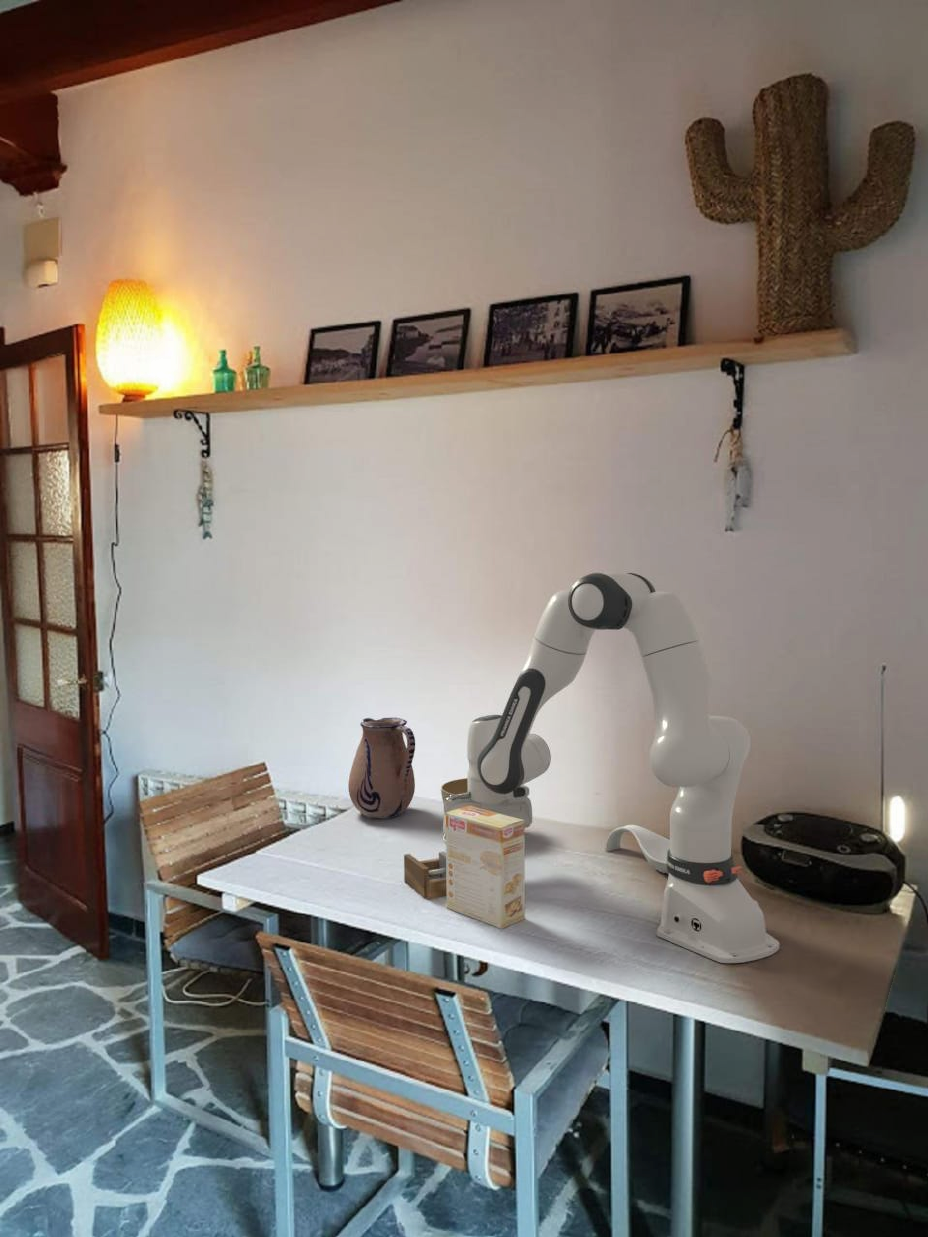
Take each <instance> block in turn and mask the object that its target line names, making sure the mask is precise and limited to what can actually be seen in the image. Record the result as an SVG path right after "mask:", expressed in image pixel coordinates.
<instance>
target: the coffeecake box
mask: <svg viewBox="0 0 928 1237" xmlns="http://www.w3.org/2000/svg"><path fill="white" fill-rule="evenodd" d="M524 822H525V820H522V819H518V818H514V817H510V816H506V815H503V814H499V813H495V812H491V811H488V810H484V809H480V808H476V807H472V806H466V807H462V808H459V809H456V810H452V811H449V812H446V844H445V853H446V885H447V896H446V909H449V910H451V911H455V912H457V913H459V914H462V915H465V916H467V917H470V918H473V919H475V920H478V921H480V922H482V923H485V924H488V925H491V926H493V927H495V928H499V929H500V930H503V929H504V928H506V927H508V926H511V925H514V924H516V923H518V922H520V921H523V920H526V916H525V915H526V913H525V912H526V909H525V908H526V906H525V904H526V899H525V897H526V896H525V894H526V892H525V891H526V890H525V889H526V887H525V884H526V882H525V881H526V880H525V877H526V876H525V872H526V871H525V869H526V866H525V865H526V864H525V858H526V855H525V851H526V850H525V848H526V847H525V846H526V845H525V843H526V842H525V840H526V839H525V828H524Z"/></svg>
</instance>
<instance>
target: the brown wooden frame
mask: <svg viewBox="0 0 928 1237" xmlns="http://www.w3.org/2000/svg"><path fill="white" fill-rule="evenodd" d="M403 861H404V863H403V866H404V867H403V872H404V874H403V875H404V877H403V878H404V884H406V885H407V884H408V885H409V886H408V885H407V886H408V887H409V888H411V889H412V890H413V889H414V890H415V891H414V890H413V891H414V892H415V893H417V894H418V896H420V895H421V897H422V898H423V899H427V900H428V901H429V900H434V899H439V898H440V899H441V898H444V897H445V898H447V885H446V877H445V878H442V877H441V876H440V875H439V874H436V875H431V876H430V875H429V871H431V870H436V869H439V857H437V858H432V859H427V860H420V861H419V860H418V859H417V858H415V857H414V856H413V855H412V854H410V853H407V854H403ZM436 877H441V878H436ZM430 878H436V879H430Z"/></svg>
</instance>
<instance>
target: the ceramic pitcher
mask: <svg viewBox="0 0 928 1237" xmlns="http://www.w3.org/2000/svg"><path fill="white" fill-rule="evenodd" d="M407 723H408V721H407V720H406V719H403V718H400V717H383V718H381V719H377V720H376V719H374V718H371V717H368V718H363V719H362V722H360V724H359V725H360V727H361V728H362V735H361V736H362V737H361V739H360V742H359V744H358V746H357V749H356V753H355V756H354V758H353V761H352V765H351V768H350V772H349V778H348V786H347V787H348V795H349V799H350V800H351V802H352V805H353V806H354V807H355V809H356V810H357V811H358V812H359V813H361V814H362V815H364V816H365V817H367V818H369V819H375V818H376V819H377V818H379V819H385V820H386V819H391V818H394V817H398V816H399V815H401V814H402V813H404V812H405V811H406V810H407V809H408V808H409V806H410V804H411V803H412V801H413V798H414V794H415V792H416V791H415V789H416V784H415V783H416V782H415V773H414V769H413V768H414V767H413V765H412V763H413V759H414V757H415V751H416V738H415V737H416V736H415V734H414V732H413V731H412V729H411V728H410V727H409V726H408V727H407V726H406V725H407ZM404 735H405V738H406V743H405V740H404ZM406 744H407V745H406Z"/></svg>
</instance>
